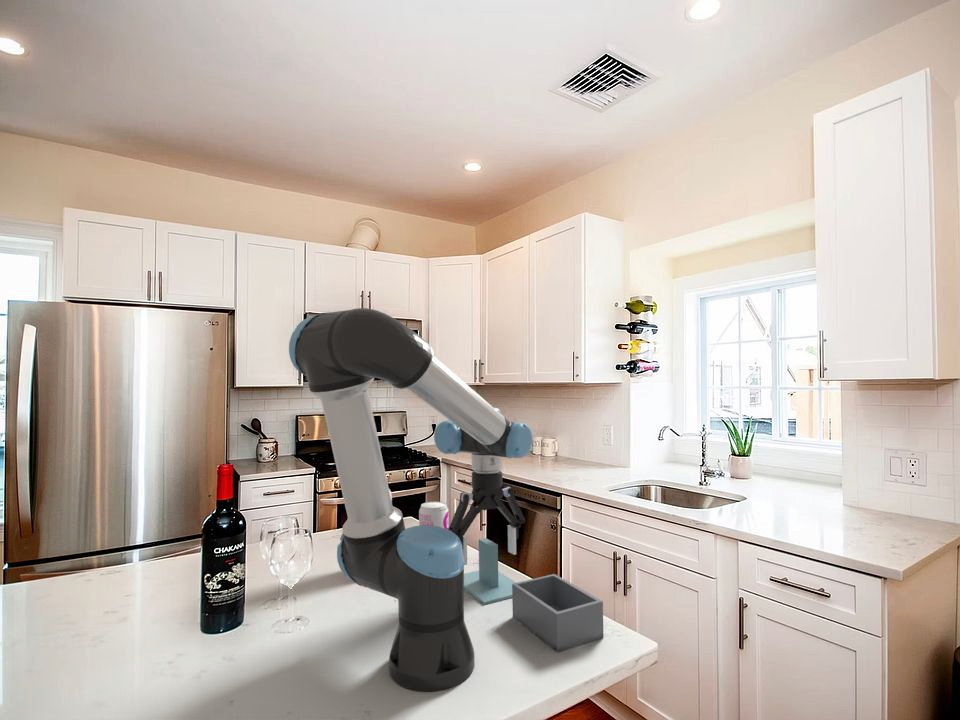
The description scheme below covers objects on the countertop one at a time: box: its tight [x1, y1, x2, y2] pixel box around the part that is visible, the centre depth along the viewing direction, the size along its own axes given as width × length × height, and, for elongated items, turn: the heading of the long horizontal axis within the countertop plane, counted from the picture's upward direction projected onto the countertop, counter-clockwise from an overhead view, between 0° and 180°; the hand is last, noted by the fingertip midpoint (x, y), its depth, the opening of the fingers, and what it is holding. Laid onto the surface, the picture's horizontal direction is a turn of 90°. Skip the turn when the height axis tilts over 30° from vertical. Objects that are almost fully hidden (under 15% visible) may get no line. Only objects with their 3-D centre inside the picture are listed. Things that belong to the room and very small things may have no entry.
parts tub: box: [511, 573, 604, 653], centre depth 106 cm, size 16×11×7 cm
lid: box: [464, 537, 517, 606], centre depth 127 cm, size 17×12×11 cm
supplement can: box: [418, 501, 450, 530], centre depth 147 cm, size 8×8×15 cm
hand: (488, 558), depth 127 cm, fingers open, 13 cm apart
